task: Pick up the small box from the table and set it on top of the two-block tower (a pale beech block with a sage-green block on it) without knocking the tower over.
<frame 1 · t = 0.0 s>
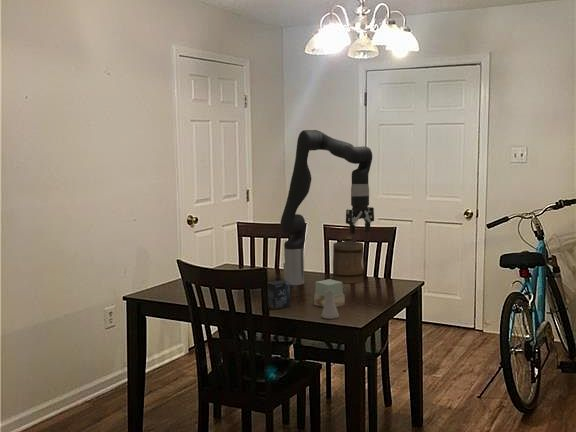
hand: (360, 232, 274), 29 cm above the table, tool pointing down, fingers open, 8 cm apart
wooden container: (348, 280, 318), on the table
flask: (330, 317, 254), on the table
tower top: (329, 293, 271), point 5 cm above the table, touching tower base
tower base: (329, 305, 272), on the table, touching tower top
box: (279, 307, 270), on the table
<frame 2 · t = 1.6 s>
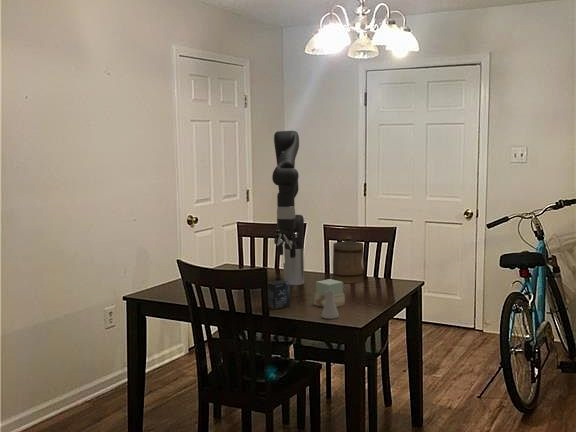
hand: (286, 256, 267), 21 cm above the table, tool pointing down, fingers open, 8 cm apart
nothing on the table moved.
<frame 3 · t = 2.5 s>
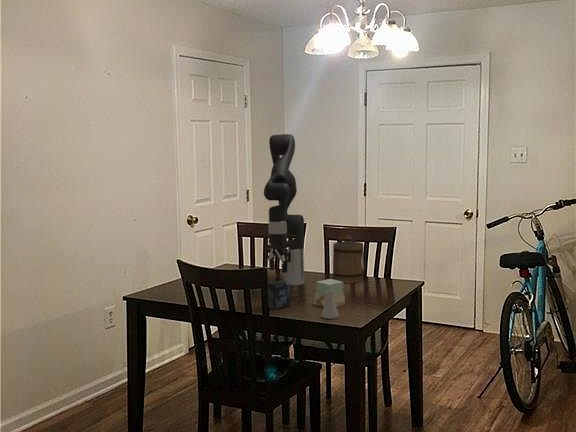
hand: (278, 270, 268), 15 cm above the table, tool pointing down, fingers open, 8 cm apart
tower top: (329, 293, 271), point 5 cm above the table
tower base: (329, 305, 272), on the table
everything else where it was.
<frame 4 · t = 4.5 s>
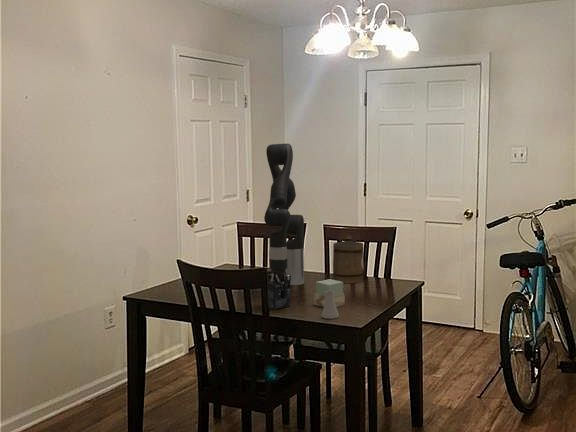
hand: (278, 297, 269), 4 cm above the table, tool pointing down, fingers closed on box, 5 cm apart
tower top: (329, 293, 271), point 5 cm above the table, touching tower base
tower base: (329, 305, 272), on the table, touching tower top
box: (279, 307, 270), on the table, touching gripper
everything else where it was.
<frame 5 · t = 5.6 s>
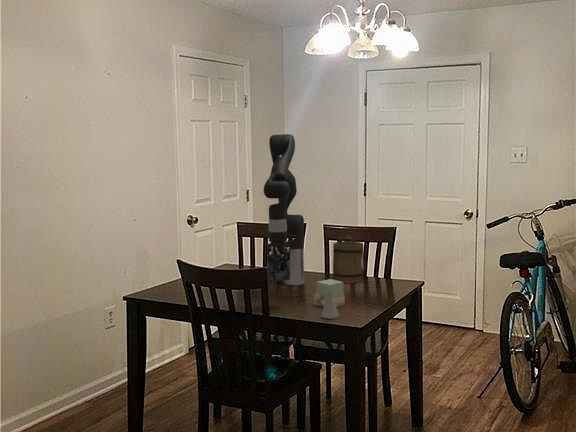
hand: (278, 270, 268), 16 cm above the table, tool pointing down, fingers closed on box, 5 cm apart
box: (278, 280, 268), point 11 cm above the table, touching gripper
everything else where it was.
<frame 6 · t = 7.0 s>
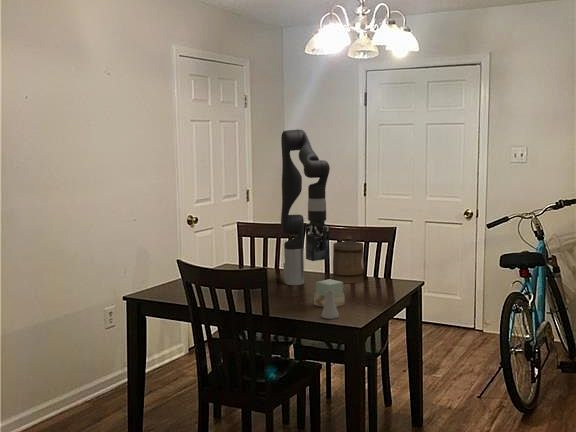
hand: (317, 249, 268), 23 cm above the table, tool pointing down, fingers closed on box, 5 cm apart
box: (317, 259, 269), point 19 cm above the table, touching gripper
everything else where it was.
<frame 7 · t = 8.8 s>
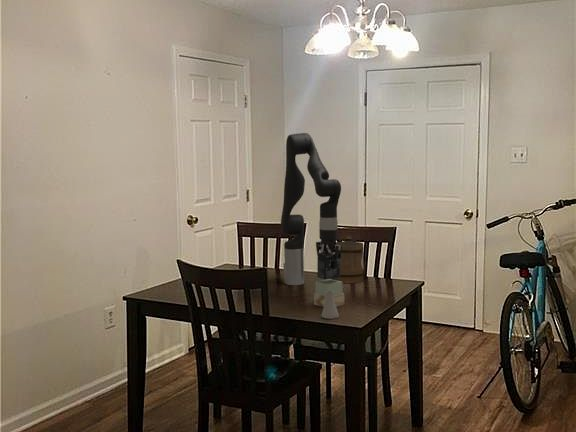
hand: (328, 267, 270), 16 cm above the table, tool pointing down, fingers closed on box, 5 cm apart
box: (328, 278, 271), point 11 cm above the table, touching gripper
everything else where it was.
when the fingers open (15 cm above the table, at t = 9.7 s): box drops 2 cm, point 10 cm above the table.
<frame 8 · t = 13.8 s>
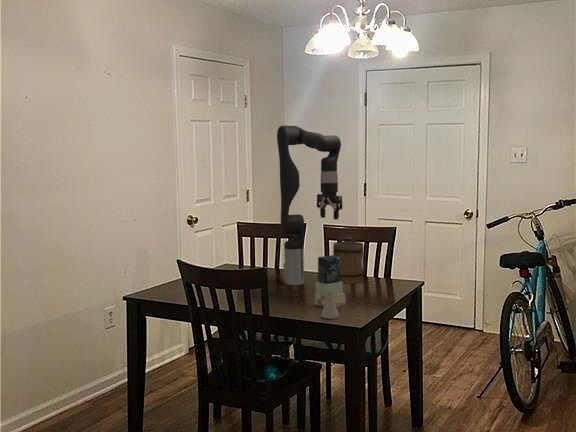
hand: (329, 218, 285), 34 cm above the table, tool pointing down, fingers open, 8 cm apart
tower top: (329, 293, 271), point 5 cm above the table
tower base: (330, 305, 272), on the table
box: (329, 282, 271), point 10 cm above the table
everything else where it was.
at the end: box inside the target area on the tower top (0.0 cm from its centre), point 4.9 cm above the tower top's base; tower top tilted 0°; the gripper is holding nothing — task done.
